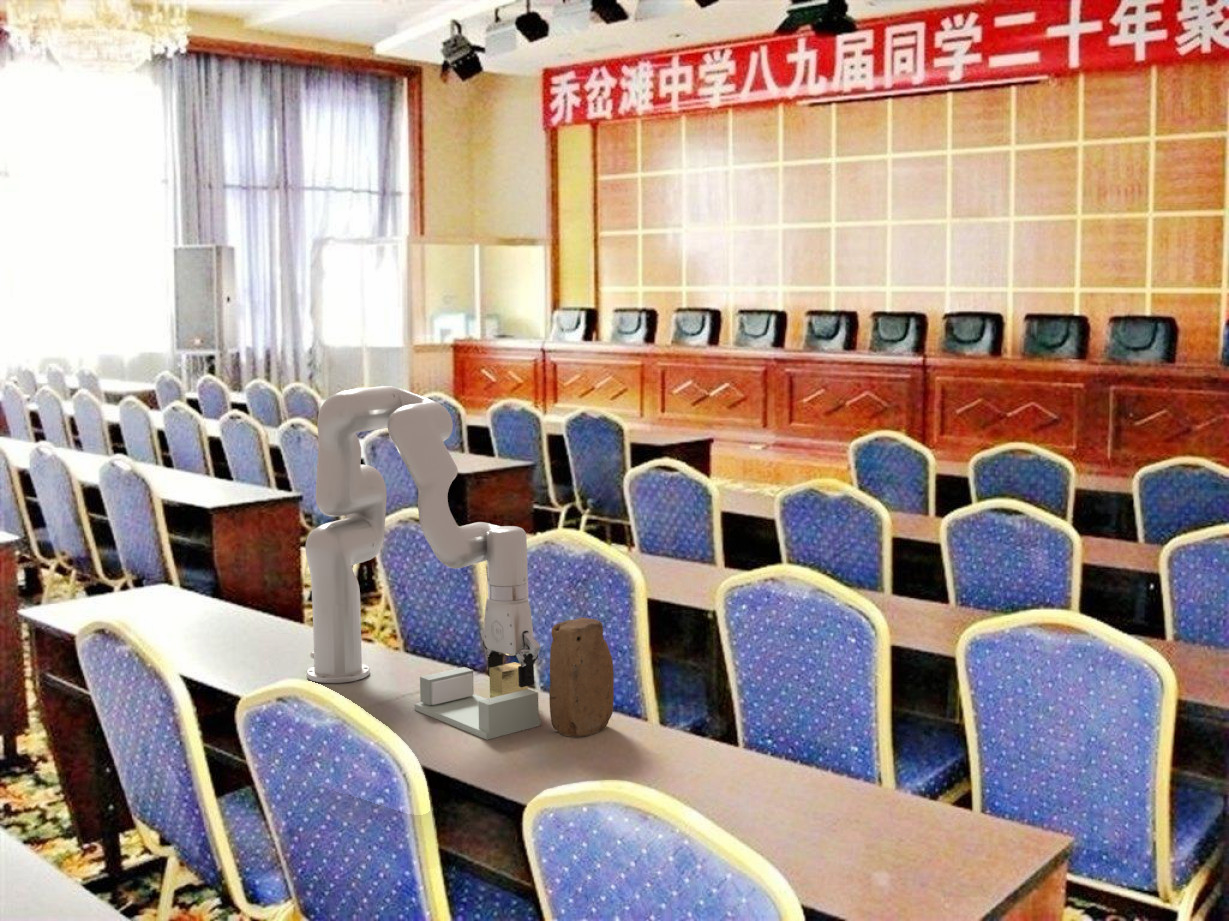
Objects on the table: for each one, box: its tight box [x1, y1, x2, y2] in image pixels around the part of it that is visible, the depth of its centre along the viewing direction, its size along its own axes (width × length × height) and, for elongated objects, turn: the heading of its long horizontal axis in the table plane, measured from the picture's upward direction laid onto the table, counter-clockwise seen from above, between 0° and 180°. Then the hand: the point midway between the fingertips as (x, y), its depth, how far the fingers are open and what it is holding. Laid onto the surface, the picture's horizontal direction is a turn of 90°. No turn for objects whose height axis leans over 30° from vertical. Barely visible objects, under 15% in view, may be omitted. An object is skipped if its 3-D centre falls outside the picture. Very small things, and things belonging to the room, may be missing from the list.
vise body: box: [414, 688, 542, 741], centre depth 254 cm, size 23×12×6 cm, turn 41°
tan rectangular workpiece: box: [489, 662, 529, 698], centre depth 264 cm, size 4×6×7 cm, turn 131°
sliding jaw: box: [419, 666, 475, 705], centre depth 261 cm, size 4×10×5 cm, turn 131°
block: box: [548, 616, 615, 738], centre depth 246 cm, size 11×8×20 cm
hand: (510, 680), depth 263 cm, fingers open, 9 cm apart
